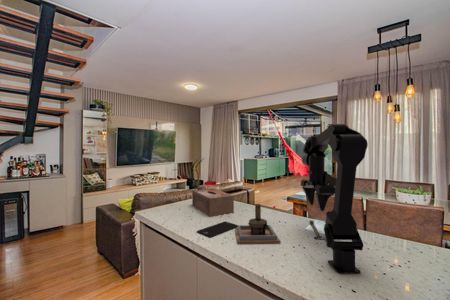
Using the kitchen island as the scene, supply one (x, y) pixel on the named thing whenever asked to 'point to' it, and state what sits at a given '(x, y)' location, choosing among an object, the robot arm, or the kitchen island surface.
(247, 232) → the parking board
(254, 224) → the industrial component
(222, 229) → the cell phone
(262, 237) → the locating frame
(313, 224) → the claw hammer
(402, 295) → the kitchen island surface
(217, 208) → the tissue box cover
